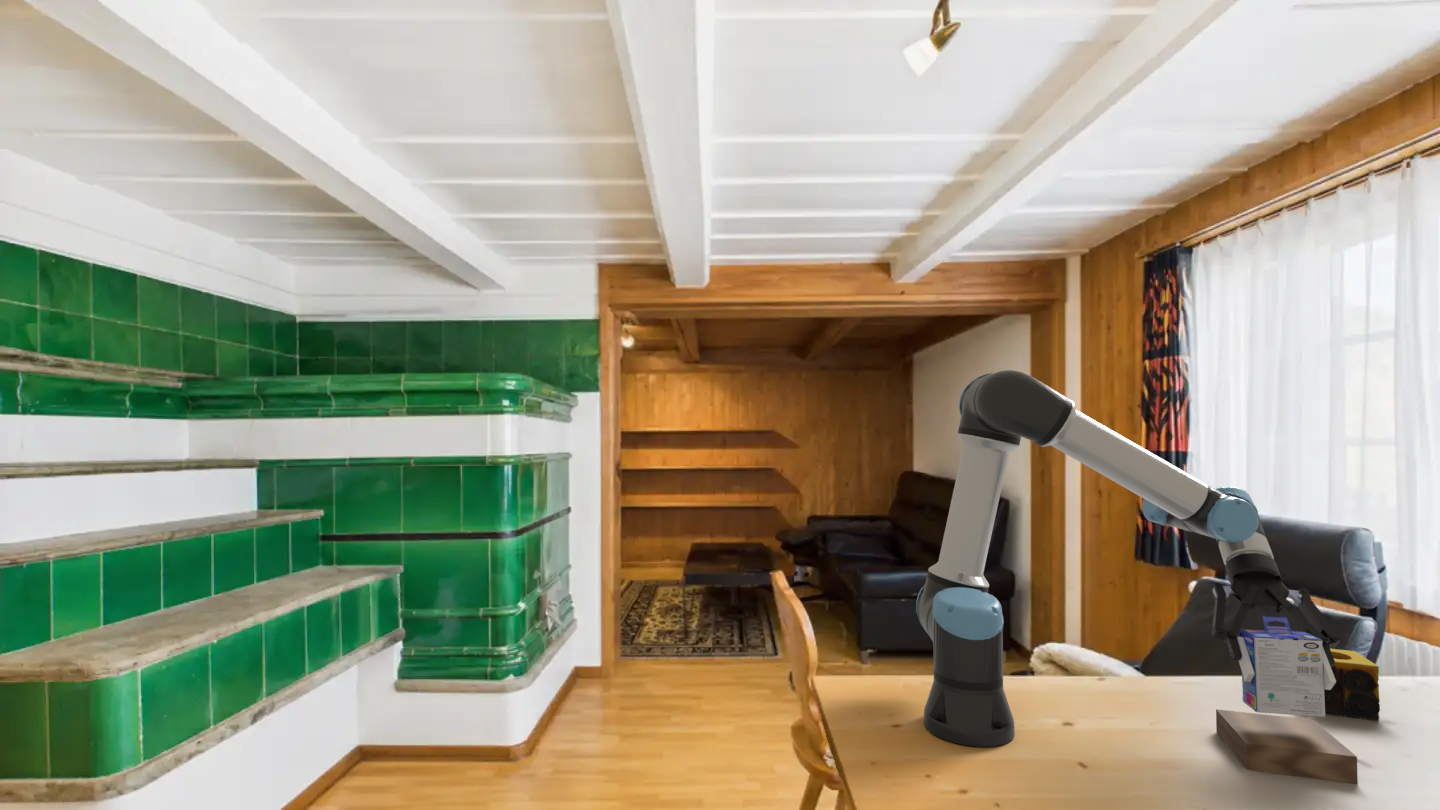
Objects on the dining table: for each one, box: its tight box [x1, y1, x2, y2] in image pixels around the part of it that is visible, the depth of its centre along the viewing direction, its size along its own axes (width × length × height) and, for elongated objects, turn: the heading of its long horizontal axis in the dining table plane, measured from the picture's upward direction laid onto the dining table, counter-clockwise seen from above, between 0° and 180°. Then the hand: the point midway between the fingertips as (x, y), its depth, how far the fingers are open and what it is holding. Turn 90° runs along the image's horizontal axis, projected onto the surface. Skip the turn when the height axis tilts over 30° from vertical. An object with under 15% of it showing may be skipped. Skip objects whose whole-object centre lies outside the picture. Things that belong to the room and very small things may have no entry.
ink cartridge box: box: [1239, 616, 1326, 718], centre depth 116 cm, size 10×6×14 cm, turn 78°
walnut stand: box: [1215, 708, 1359, 785], centre depth 116 cm, size 14×14×4 cm
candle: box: [1324, 648, 1381, 721], centre depth 136 cm, size 10×10×10 cm
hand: (1289, 681), depth 113 cm, fingers closed on ink cartridge box, 10 cm apart
